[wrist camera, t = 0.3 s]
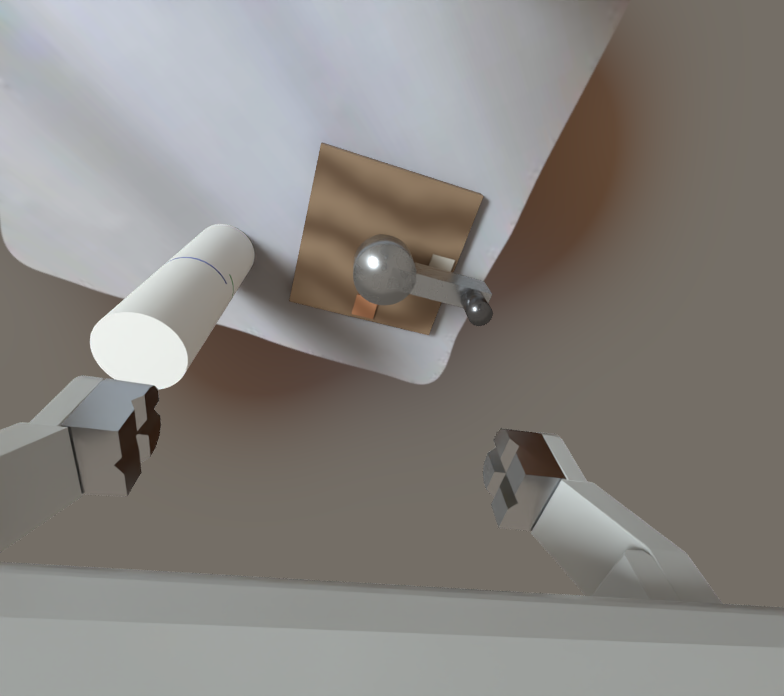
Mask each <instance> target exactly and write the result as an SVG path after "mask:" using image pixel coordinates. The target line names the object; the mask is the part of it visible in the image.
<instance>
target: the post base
mask: <svg viewBox="0 0 784 696" xmlns="http://www.w3.org/2000/svg"><path fill="white" fill-rule="evenodd" d="M482 199H483V195H482V194H480V193H477V192H474V191H471V190H468V189H465V188H462V187H459V186H455V185H452V184H449V183H446V182H443V181H440V180H437V179H434V178H431V177H428V176H424V175H421V174H418V173H415V172H412V171H409V170H406V169H403V168H400V167H397V166H393V165H390V164H387V163H384V162H381V161H378V160H375V159H372V158H369V157H366V156H362V155H359V154H356V153H353V152H350V151H347V150H344V149H341V148H338V147H335V146H331V145H328V144H325V143H321V146H320V151H319V156H318V161H317V166H316V171H315V176H314V181H313V186H312V191H311V196H310V201H309V206H308V211H307V216H306V221H305V225H304V230H303V235H302V240H301V245H300V250H299V255H298V260H297V265H296V270H295V275H294V280H293V285H292V290H291V295H290V300H289V301H290V302H294V303H298V304H302V305H306V306H311V307H315V308H319V309H323V310H327V311H331V312H335V313H339V314H344V315H348V316H352V317H356V318H360V319H364V320H368V321H372V322H377V323H381V324H385V325H389V326H393V327H397V328H401V329H405V330H410V331H414V332H418V333H422V334H426V335H429V333H430V331H431V328H432V325H433V323H434V320H435V318H436V315H437V313H438V310H439V308H440V305H441V303H442V302H439V301H435V300H431V299H427V298H423V297H419V296H416V295H412V294H409V295H408V296H407V297H406V298H405V299H403V300H402V301H400V302H398V303H395V304H392V305H377V304H373V303H371V302H369V301H367V300H365V299H364V298H363V297H362V296H361V295H360V294H359V292H358V291H357V289H356V287H355V285H354V281H353V265H354V256H355V253H356V251H357V249H358V248H359V246H360V245H361V244H362V243H363V242H364V241H365V240H367V239H369V238H371V237H373V236H376V235H390V236H394V237H396V238H398V239H400V240H401V241H403V242H404V243H405V244H406V245H407V247H408V248H409V250H410V252H411V255H412V258H413V261H414V262H416V263H420V264H423V265H427V266H431V267H434V268H438V269H441V270H445V271H449V272H452V273H453V272H454V270H455V267H456V265H457V262H458V260H459V257H460V254H461V252H462V249H463V247H464V244H465V242H466V239H467V237H468V234H469V232H470V229H471V227H472V224H473V221H474V219H475V216H476V214H477V211H478V209H479V206H480V204H481V201H482Z"/></svg>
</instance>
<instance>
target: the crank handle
mask: <svg viewBox="0 0 784 696" xmlns="http://www.w3.org/2000/svg"><path fill="white" fill-rule="evenodd" d="M353 281H354V285H355V287H356V289H357V291H358V292H359V294H360V295H361V296H362V297H363V298H364V299H365V300H367V301H369V302H371V303H373V304H377V305H392V304H395V303H398V302H400V301H402V300H403V299H405V298H406V297H407V296H408V295H409V294H412V295H416V296H419V297H423V298H427V299H431V300H435V301H439V302H442V303H446V304H450V305H454V306H458V307H462V308H464V310H465V312H466V314H467V316H468V318H469V320H470V322H471V323H472V324H473V325H476V326H482V325H485V324H487V323H488V322H489V321H490V320H491V318H492V315H493V312H492V309H491V307H490V306H489V304H488V303H489V301H490V298H491V296H492V293H491V292H490V290H489V289H488V287H487V286H486V284H485V282H484V281H481V280H477V279H474V278H470V277H467V276H463V275H459V274H456V273H452V272H449V271H445V270H441V269H438V268H434V267H431V266H427V265H423V264H420V263H416V262H414V261H413V258H412V255H411V252H410V250H409V248H408V247H407V245H406V244H405V243H404V242H403V241H401V240H400V239H398V238H396V237H394V236H390V235H376V236H373V237H371V238H369V239H367V240H365V241H364V242H363V243H362V244H361V245H360V246H359V248H358V249H357V251H356V253H355V256H354V265H353Z"/></svg>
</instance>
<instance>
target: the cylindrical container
mask: <svg viewBox="0 0 784 696" xmlns="http://www.w3.org/2000/svg"><path fill="white" fill-rule="evenodd" d="M254 258H255V253H254V248H253V245H252V243H251V241H250V240H249V238H248V237H247V236H246V235H245V234H244V233H243V232H242V231H241V230H239V229H237V228H235V227H233V226H231V225H226V224H216V225H212V226H210V227H208V228H206V229H205V230H204V231H202V232H201V233H200V234H199V235H198V236H197V237H196V238H194V239H193V240H192V241H191V242H190V243H189V244H187V245H186V246H185V247H184V248H183V249H182V250H181V251H179V252H178V253H177V254H176V255H175V256H174V257H172V258H171V259H170V260H169V261H168V262H167V263H166V264H164V265H163V266H162V267H161V268H160V269H159V270H157V271H156V272H155V273H154V274H153V275H152V276H151V277H149V278H148V279H147V280H146V281H145V282H144V283H143V284H141V285H140V286H139V287H138V288H137V289H136V290H134V291H133V292H132V293H131V294H130V295H129V296H128V297H126V298H125V299H124V300H123V301H122V302H121V303H120V304H118V305H117V306H116V307H115V308H114V309H113V310H111V312H109V313H108V314H107V315H106V316H104V317H103V318H102V319H101V320H100V321H99V322H98V323H97V324H96V325H95V326H94V328H93V330H92V332H91V337H90V347H91V351H92V354H93V356H94V358H95V360H96V361H97V363H98V365H99V366H100V367H101V368H102V369H103V370H104V371H105V372H106V373H107V374H108V375H109V376H111V377H112V378H114V379H115V380H121V381H128V382H135V383H142V384H149V385H154V386H156V387H157V388H158V389H164V388H167V387H170V386H172V385H173V384H175V383H177V381H179V380H180V379H181V378H182V377H183V375H184V374H185V372H186V370H187V369H188V367H189V365H190V364H191V362H192V361H193V359H194V358H195V356H196V355H197V353H198V351H199V350H200V348H201V347H202V345H203V344H204V342H205V340H206V339H207V337H208V335H209V334H210V332H211V331H212V329H213V328H214V326H215V325H216V323H217V321H218V320H219V318H220V317H221V315H222V314H223V312H224V310H225V309H226V307H227V306H228V304H229V302H230V301H231V299H232V298H233V296H234V294H235V293H236V291H237V290H238V288H239V286H240V285H241V283H242V282H243V280H244V278H245V277H246V275H247V274H248V272H249V270H250V269H251V267H252V266H253V263H254Z"/></svg>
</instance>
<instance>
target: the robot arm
mask: <svg viewBox="0 0 784 696" xmlns="http://www.w3.org/2000/svg"><path fill="white" fill-rule="evenodd" d="M158 402H159V395H158V388H157V387H156V386H154V385H149V384H142V383H135V382H128V381H121V380H114V379H104V378H97V377H91V376H83V375H82V376H79V377H76V378H75V379H74V380H72V381H71V382H70V383H69V384H68V385H67V386H66V387H65V388H64V389H63V390H62V391H61V392H60V393H59V394H58V395H57V396H56V397H55V398H54V399H53V400H52V401H51V402H50V403H49V404H48V405H47V406H46V407H45V408H44V409H43V410H42V411H41V412H40V413H39V414H38V415H37V416H36V417H35V418H34V419H33V420H32V421H31V422H30V423H23V422H20V423H17V424H15V425H12V426H10V427H7V428H4V429H2V430H0V553H1V552H2V551H4V550H5V549H7V548H8V547H10V546H11V545H13V544H14V543H15V542H16V541H18V540H20V539H21V538H23V537H24V536H26V535H27V534H28V533H30V532H31V531H33V530H34V529H36V528H37V527H38V526H40V525H42V524H43V523H45V522H46V521H47V520H49V519H50V518H52V517H53V516H55V515H56V514H58V513H59V512H61V511H62V510H63V509H65V508H66V507H68V506H69V505H71V504H72V503H74V502H75V501H76V500H78V499H79V498H81V497H82V494H87V495H106V496H123V497H127V496H128V495H129V493H130V491H131V489H132V487H133V486H134V484H135V483H136V481H137V479H138V478H139V476H140V474H141V462H143V461H144V460H146V459H148V458H150V457H151V455H152V453H153V451H154V450H155V448H156V445H157V442H158V439H159V436H160V428H161V418H160V415H159V414H158V413H157V412H156V411H155V410H154V408H155V406H156V405H157V403H158ZM494 443H495V446H496V448H494V449H493V450H491V451H490V452H488V453H487V456H486V459H485V461H484V467H483V480H484V484H485V488H486V490H487V491H488V492H489V493H490V494H491V495H492V496H493V497H494V499H493V501H492V503H491V506H492V509H493V512H494V516H495V518H496V522H497V524H498V528H505V529H514V530H523V531H532V532H531V534H532V535H533V536H534V537H535V538H536V539H537V541H538V542H539V543H540V544H541V545H542V546H543V548H544V549H545V550H546V551H547V552H548V553H549V555H550V556H551V557H552V558H553V559H554V560H555V561H556V562H557V564H558V565H559V566H560V567H561V568H562V569H563V571H564V572H565V573H566V574H567V575H568V576H569V578H570V579H571V580H572V581H573V582H574V583H575V584H576V586H577V587H578V588H579V589H580V590H581V591H582V592H583V594H584V595H585V596H580V595H562V594H544V593H528V592H510V591H494V590H492V591H491V590H477V589H459V588H441V587H425V586H406V585H390V584H373V583H355V582H339V581H320V580H304V579H287V578H269V577H253V576H235V575H218V574H200V573H184V572H167V571H148V570H132V569H115V568H98V567H79V566H63V565H62V566H61V565H46V564H29V563H28V564H27V563H12V562H0V696H784V607H768V606H767V607H766V606H751V605H734V604H722V602H721V601H720V599H719V598H718V597H717V595H716V594H715V592H714V591H713V590H712V588H711V587H710V585H709V584H708V583H707V581H706V580H705V578H704V577H703V576H702V574H701V573H700V571H699V570H698V569H697V567H696V566H695V564H694V563H693V562H692V560H691V559H690V557H689V556H688V555H687V553H686V552H684V551H683V550H682V549H680V548H679V547H678V546H676V545H675V544H674V543H673V542H671V541H670V540H669V539H667V538H666V537H665V536H663V535H662V534H660V533H659V532H658V531H657V530H655V529H654V528H652V527H651V526H650V525H649V524H647V523H646V522H645V521H643V520H642V519H641V518H639V517H638V516H637V515H635V514H634V513H633V512H631V511H630V510H629V509H627V508H626V507H625V506H623V505H622V504H621V503H620V502H618V501H617V500H615V499H614V498H613V497H612V496H610V495H609V494H608V493H606V492H605V491H603V490H602V489H601V488H600V487H598V486H597V485H596V484H594V483H592V482H587V480H586V479H585V477H584V476H583V474H582V472H581V470H580V469H579V467H578V465H577V464H576V462H575V460H574V458H573V457H572V455H571V453H570V452H569V450H568V448H567V447H566V445H565V443H564V442H563V440H562V438H561V437H560V436H558V435H557V434H551V433H541V432H537V433H536V432H528V431H519V430H511V429H502V428H501V429H500V430H499V431H498V432H497V433H496V436H495V438H494Z"/></svg>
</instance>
